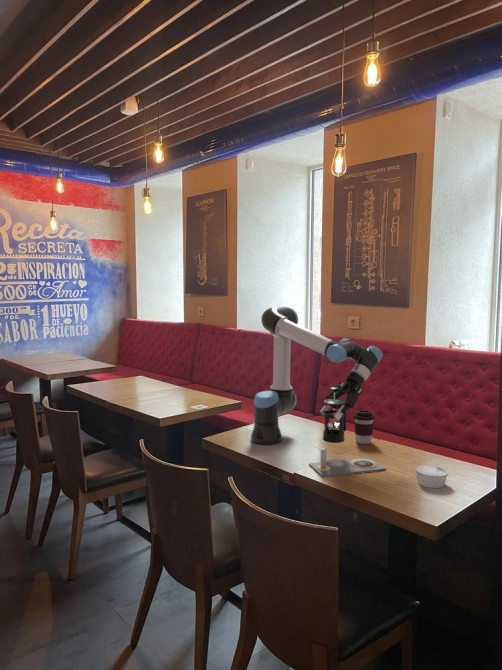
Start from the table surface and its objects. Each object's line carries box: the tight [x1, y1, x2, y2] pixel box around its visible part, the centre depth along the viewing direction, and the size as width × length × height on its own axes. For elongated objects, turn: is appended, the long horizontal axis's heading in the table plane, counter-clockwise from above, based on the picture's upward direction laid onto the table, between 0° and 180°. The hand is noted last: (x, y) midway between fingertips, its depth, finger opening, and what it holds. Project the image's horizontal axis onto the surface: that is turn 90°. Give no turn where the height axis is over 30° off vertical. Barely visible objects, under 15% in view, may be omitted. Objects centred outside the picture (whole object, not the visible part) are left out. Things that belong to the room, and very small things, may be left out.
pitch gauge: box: [308, 447, 387, 478], centre depth 202 cm, size 14×28×9 cm, turn 105°
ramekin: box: [415, 465, 448, 489], centre depth 185 cm, size 11×11×5 cm
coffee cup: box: [353, 409, 376, 445], centre depth 236 cm, size 10×10×15 cm
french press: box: [322, 386, 347, 444], centre depth 213 cm, size 12×9×23 cm
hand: (329, 416), depth 212 cm, fingers closed on french press, 9 cm apart
